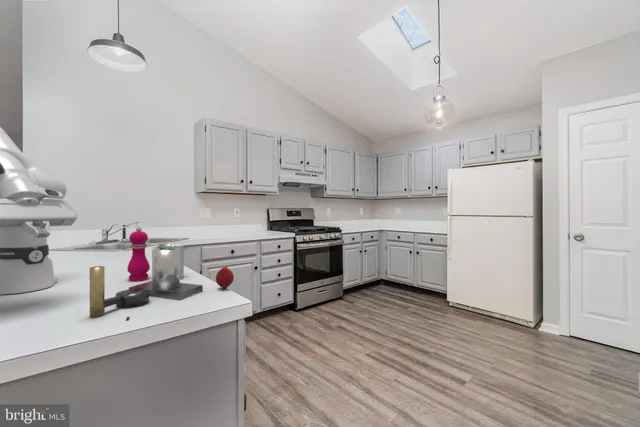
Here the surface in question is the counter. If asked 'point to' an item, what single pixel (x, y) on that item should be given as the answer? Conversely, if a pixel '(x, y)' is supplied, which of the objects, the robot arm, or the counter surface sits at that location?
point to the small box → (180, 258)
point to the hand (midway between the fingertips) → (42, 236)
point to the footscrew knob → (121, 299)
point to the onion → (224, 277)
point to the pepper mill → (138, 256)
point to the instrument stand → (167, 275)
